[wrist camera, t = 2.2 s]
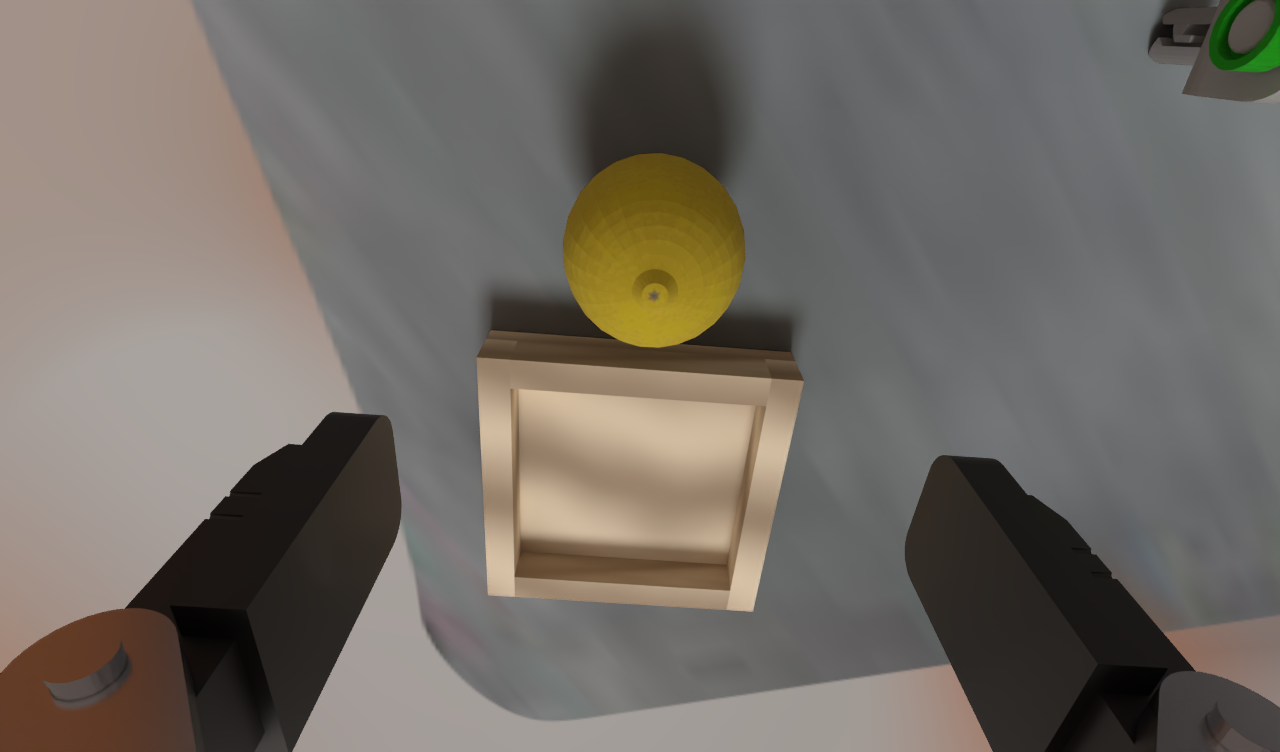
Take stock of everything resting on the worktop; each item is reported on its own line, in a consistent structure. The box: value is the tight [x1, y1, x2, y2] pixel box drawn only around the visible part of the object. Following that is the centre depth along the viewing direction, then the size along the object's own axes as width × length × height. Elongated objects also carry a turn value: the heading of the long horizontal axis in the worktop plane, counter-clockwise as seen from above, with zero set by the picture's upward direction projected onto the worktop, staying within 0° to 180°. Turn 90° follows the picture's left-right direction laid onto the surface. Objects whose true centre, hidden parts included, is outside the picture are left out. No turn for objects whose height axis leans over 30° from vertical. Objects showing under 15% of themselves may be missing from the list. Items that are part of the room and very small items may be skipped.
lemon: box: [563, 153, 745, 348], centre depth 20 cm, size 6×6×8 cm
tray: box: [477, 330, 804, 612], centre depth 28 cm, size 12×12×2 cm
